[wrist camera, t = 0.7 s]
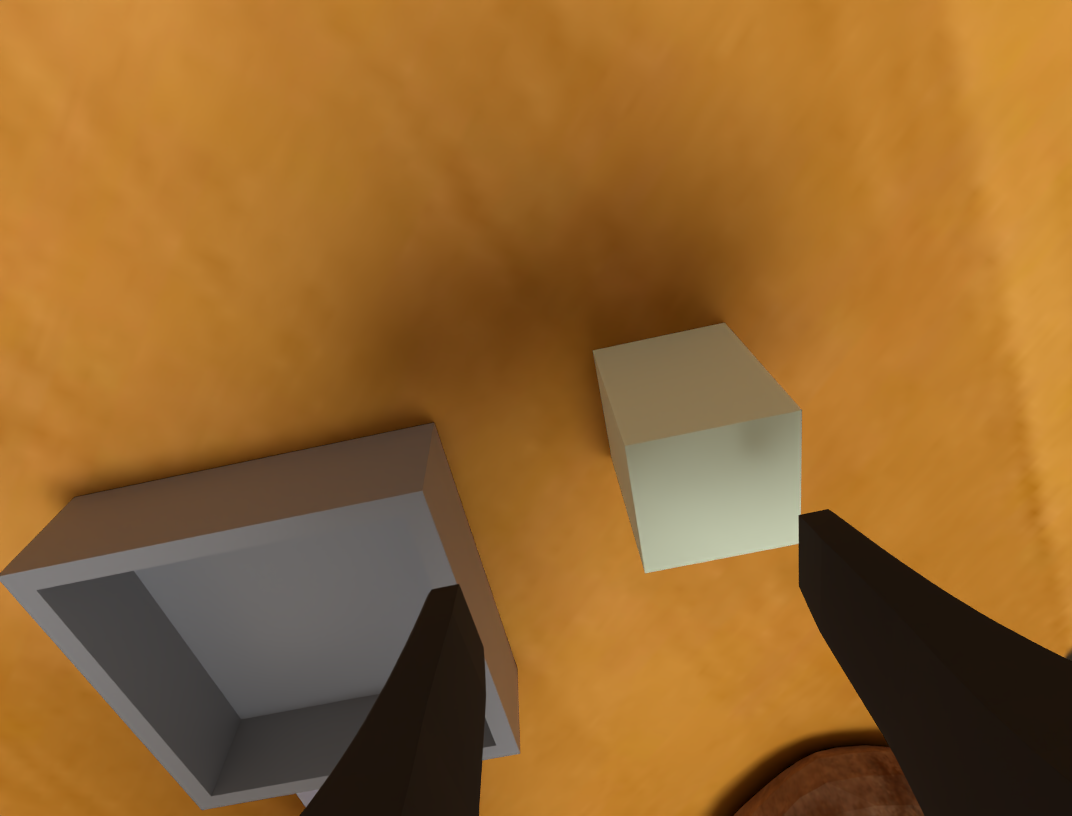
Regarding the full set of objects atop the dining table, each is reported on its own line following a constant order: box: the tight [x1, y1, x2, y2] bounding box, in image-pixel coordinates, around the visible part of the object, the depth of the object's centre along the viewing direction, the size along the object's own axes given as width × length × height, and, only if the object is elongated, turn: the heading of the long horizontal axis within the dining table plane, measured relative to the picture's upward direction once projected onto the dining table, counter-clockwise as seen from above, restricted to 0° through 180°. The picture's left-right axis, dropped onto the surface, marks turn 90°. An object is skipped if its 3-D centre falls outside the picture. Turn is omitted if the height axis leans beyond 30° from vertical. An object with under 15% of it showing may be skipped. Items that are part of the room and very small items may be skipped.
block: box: [593, 323, 802, 573], centre depth 19 cm, size 4×4×6 cm
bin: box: [0, 423, 520, 810], centre depth 24 cm, size 14×14×4 cm
